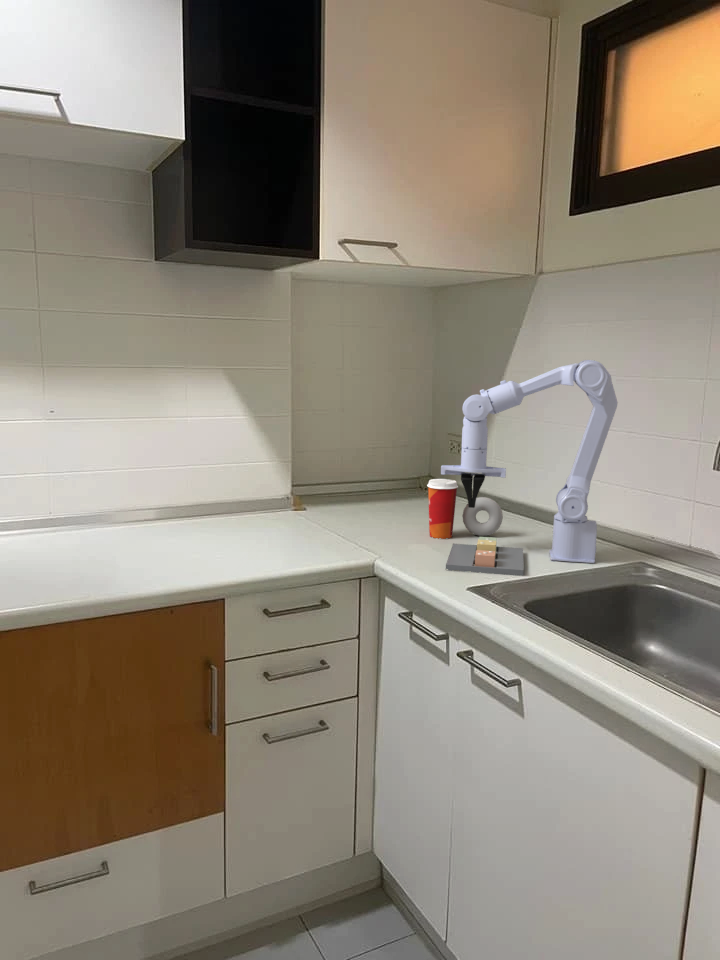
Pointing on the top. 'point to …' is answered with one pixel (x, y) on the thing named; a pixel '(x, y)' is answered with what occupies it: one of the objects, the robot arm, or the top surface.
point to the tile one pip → (488, 539)
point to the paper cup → (441, 507)
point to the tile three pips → (485, 558)
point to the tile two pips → (486, 545)
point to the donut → (488, 526)
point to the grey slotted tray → (506, 564)
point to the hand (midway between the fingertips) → (471, 506)
